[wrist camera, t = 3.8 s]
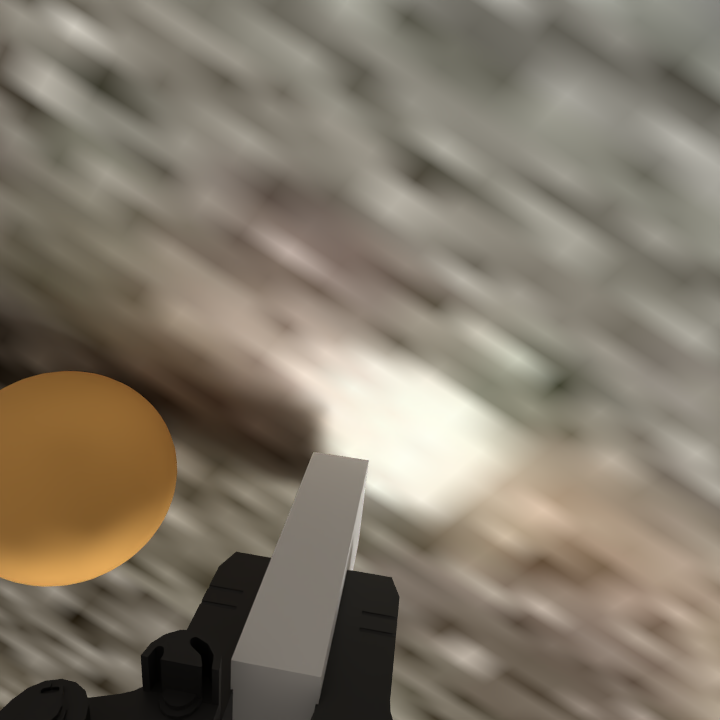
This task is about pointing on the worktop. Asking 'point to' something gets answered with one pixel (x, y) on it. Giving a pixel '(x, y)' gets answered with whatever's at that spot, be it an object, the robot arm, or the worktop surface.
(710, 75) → the worktop surface
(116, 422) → the ball
